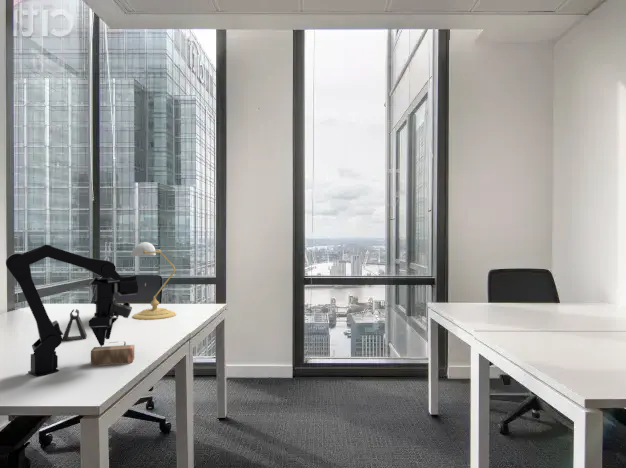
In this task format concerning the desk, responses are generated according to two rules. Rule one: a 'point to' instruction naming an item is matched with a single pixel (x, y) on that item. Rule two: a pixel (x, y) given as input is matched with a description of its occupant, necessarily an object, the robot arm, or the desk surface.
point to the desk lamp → (153, 312)
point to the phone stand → (80, 327)
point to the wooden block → (112, 355)
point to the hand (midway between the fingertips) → (104, 342)
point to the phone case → (114, 344)
